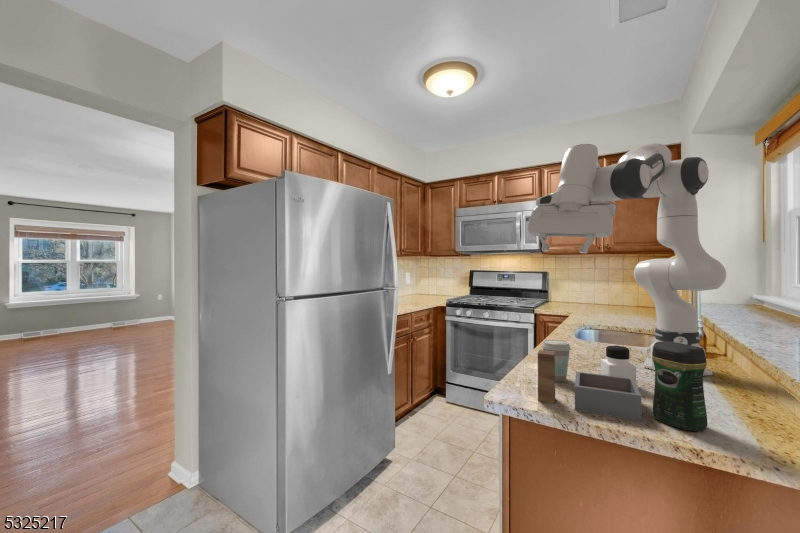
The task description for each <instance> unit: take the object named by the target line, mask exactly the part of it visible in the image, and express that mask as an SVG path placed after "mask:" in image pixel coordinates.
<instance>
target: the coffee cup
mask: <svg viewBox="0 0 800 533" xmlns="http://www.w3.org/2000/svg"><path fill="white" fill-rule="evenodd" d="M541 345H542V346H541V348H542V350H545V351H555V383H557V382H558V383H562V382H563V383H564V382H566V381H567V375H568V369H569V368H568V367H569V360H570V353H571V352H570V351H571V350H572V348H571V345H570V343H569V342H568V341H565V340H560V339H544V340H543V342H542V344H541Z"/></svg>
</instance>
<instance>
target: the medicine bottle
mask: <svg viewBox="0 0 800 533" xmlns="http://www.w3.org/2000/svg"><path fill="white" fill-rule="evenodd" d="M636 367H637V366H636V365H634V364H633V363H631V362H630V349H629V347H626V346H624V345H617V344H611V345H607V346H606V347H605V358H601V359H600V374H601V375H609V376H617V377H625V378H633V379H635V382H636V383H637V379H636V378H637V377H636V375H637V368H636Z"/></svg>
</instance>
